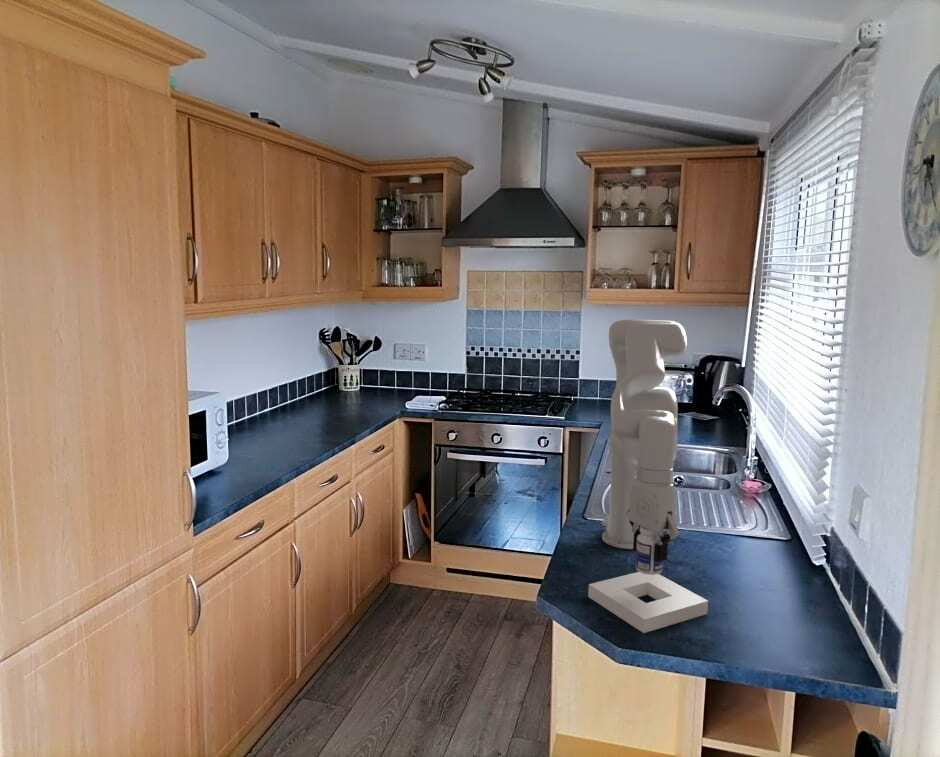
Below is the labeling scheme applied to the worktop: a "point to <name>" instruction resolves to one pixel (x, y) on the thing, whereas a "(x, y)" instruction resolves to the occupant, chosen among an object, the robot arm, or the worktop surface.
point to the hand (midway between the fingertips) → (649, 554)
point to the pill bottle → (647, 553)
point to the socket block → (649, 616)
